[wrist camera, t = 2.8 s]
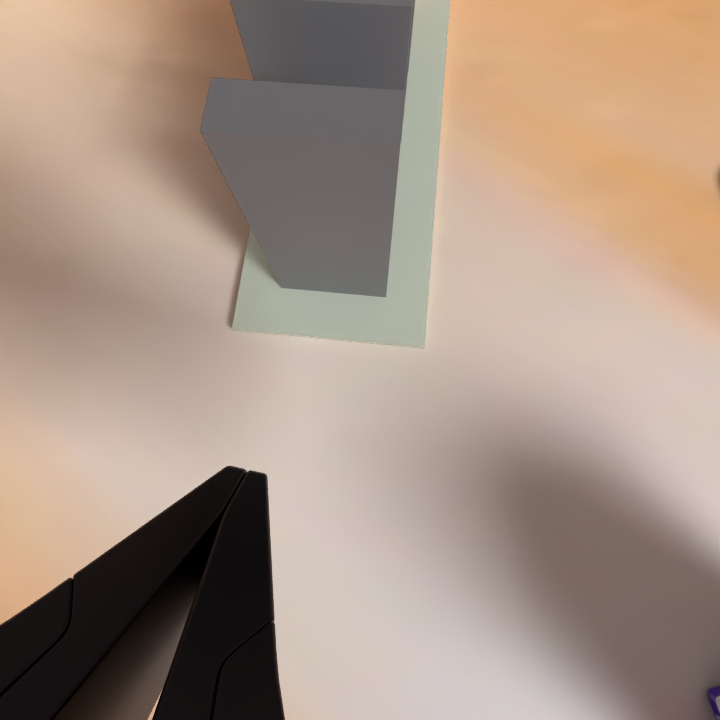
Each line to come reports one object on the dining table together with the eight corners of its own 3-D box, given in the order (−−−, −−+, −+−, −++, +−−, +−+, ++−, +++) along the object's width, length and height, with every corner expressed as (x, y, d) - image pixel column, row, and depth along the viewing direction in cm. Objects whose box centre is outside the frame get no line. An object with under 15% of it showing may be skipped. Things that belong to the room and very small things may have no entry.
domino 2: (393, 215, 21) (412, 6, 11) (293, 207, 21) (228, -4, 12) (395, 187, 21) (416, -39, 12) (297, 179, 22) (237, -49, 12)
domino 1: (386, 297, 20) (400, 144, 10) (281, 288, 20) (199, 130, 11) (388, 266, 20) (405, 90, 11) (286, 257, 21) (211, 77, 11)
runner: (423, 348, 20) (424, 346, 20) (233, 330, 20) (231, 328, 20) (458, -116, 27) (458, -122, 26) (315, -122, 27) (314, -129, 27)
